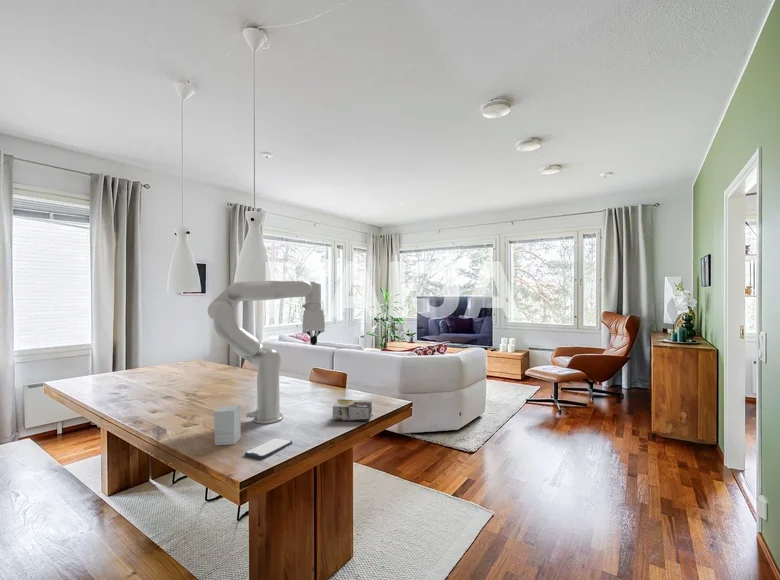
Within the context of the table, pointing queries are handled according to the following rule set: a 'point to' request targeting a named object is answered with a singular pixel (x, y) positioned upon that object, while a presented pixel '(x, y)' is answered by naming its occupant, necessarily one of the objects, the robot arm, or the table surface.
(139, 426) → the table surface
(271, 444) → the phone case
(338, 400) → the coffee box
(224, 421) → the supplement box
